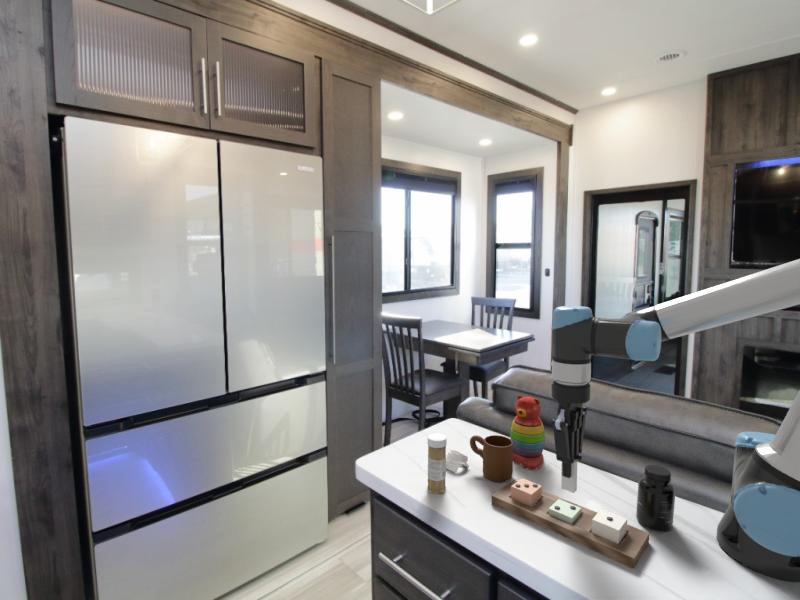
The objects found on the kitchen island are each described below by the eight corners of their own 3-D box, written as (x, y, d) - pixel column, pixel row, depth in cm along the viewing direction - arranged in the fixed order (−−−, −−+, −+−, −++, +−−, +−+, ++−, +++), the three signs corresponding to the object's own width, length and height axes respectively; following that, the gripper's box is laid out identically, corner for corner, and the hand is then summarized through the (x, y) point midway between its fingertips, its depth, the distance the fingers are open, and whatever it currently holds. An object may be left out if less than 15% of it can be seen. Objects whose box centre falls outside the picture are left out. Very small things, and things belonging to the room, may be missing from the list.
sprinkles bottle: (435, 482, 110) (435, 431, 108) (449, 489, 106) (450, 436, 105) (423, 489, 106) (423, 436, 105) (438, 496, 103) (438, 442, 102)
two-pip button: (580, 521, 94) (581, 507, 93) (571, 531, 90) (572, 517, 90) (558, 511, 97) (558, 498, 97) (548, 521, 93) (548, 507, 93)
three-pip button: (541, 498, 100) (542, 485, 99) (531, 507, 96) (531, 493, 96) (521, 490, 103) (521, 477, 103) (510, 498, 100) (511, 485, 99)
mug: (462, 471, 115) (463, 437, 114) (476, 460, 121) (477, 428, 120) (504, 486, 108) (505, 450, 107) (517, 474, 114) (518, 439, 113)
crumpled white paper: (436, 467, 119) (434, 450, 119) (453, 458, 124) (451, 441, 123) (458, 476, 113) (456, 459, 113) (474, 466, 118) (473, 449, 117)
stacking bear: (499, 457, 123) (500, 396, 121) (520, 447, 130) (521, 389, 128) (532, 471, 115) (534, 406, 113) (553, 460, 122) (555, 398, 120)
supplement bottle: (628, 517, 95) (631, 464, 94) (651, 510, 98) (654, 459, 96) (656, 536, 89) (660, 480, 88) (680, 528, 91) (684, 474, 90)
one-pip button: (626, 533, 87) (627, 518, 87) (618, 545, 84) (619, 529, 83) (600, 522, 91) (601, 507, 90) (591, 533, 87) (592, 518, 87)
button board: (648, 542, 87) (649, 533, 87) (633, 568, 80) (634, 558, 79) (513, 487, 107) (513, 479, 107) (491, 503, 100) (491, 495, 100)
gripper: (565, 371, 98) (564, 472, 100) (539, 384, 88) (538, 495, 90) (600, 377, 92) (598, 483, 94) (576, 391, 83) (574, 509, 85)
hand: (568, 489), depth 92 cm, fingers closed
